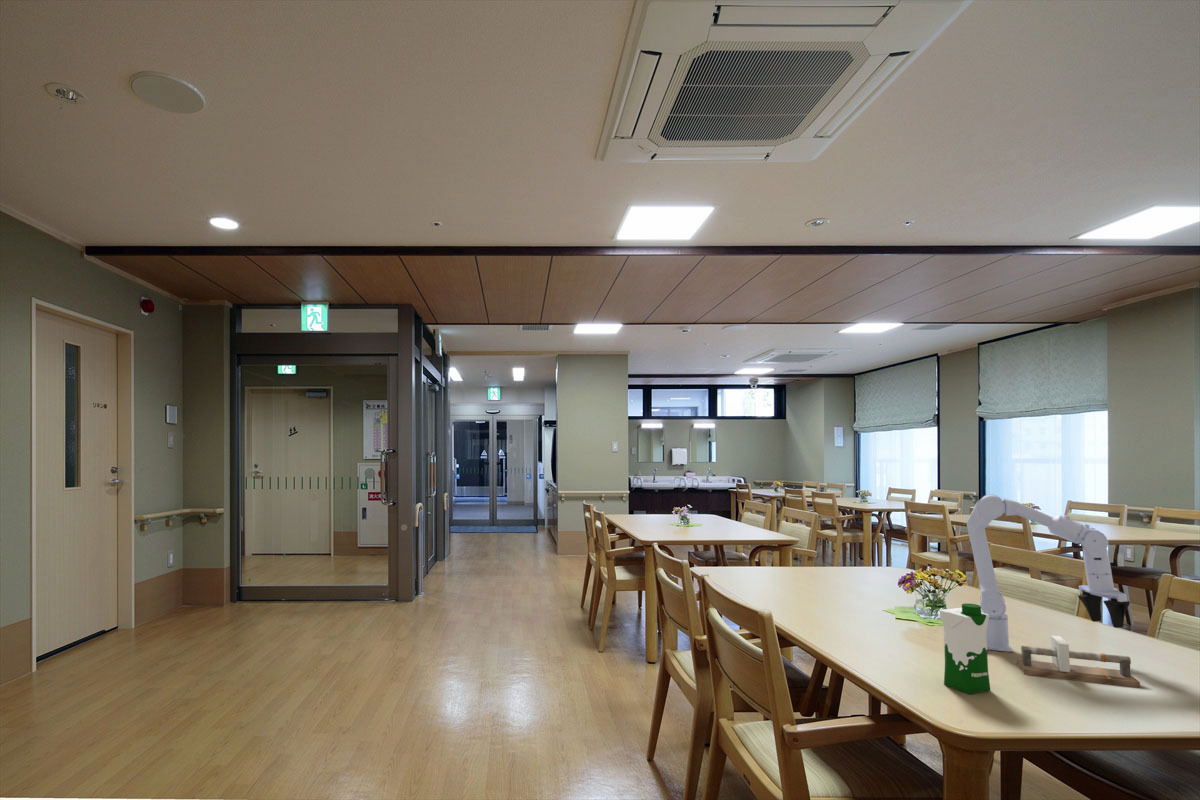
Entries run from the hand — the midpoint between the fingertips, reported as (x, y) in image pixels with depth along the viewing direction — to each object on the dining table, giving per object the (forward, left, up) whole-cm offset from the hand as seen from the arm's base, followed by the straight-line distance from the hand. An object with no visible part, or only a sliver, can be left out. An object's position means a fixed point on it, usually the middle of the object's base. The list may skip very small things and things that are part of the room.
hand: (1107, 624), depth 177 cm
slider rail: (-11, -16, -10) cm, 22 cm away
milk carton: (-39, -37, -10) cm, 54 cm away
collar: (-14, -16, -9) cm, 23 cm away
